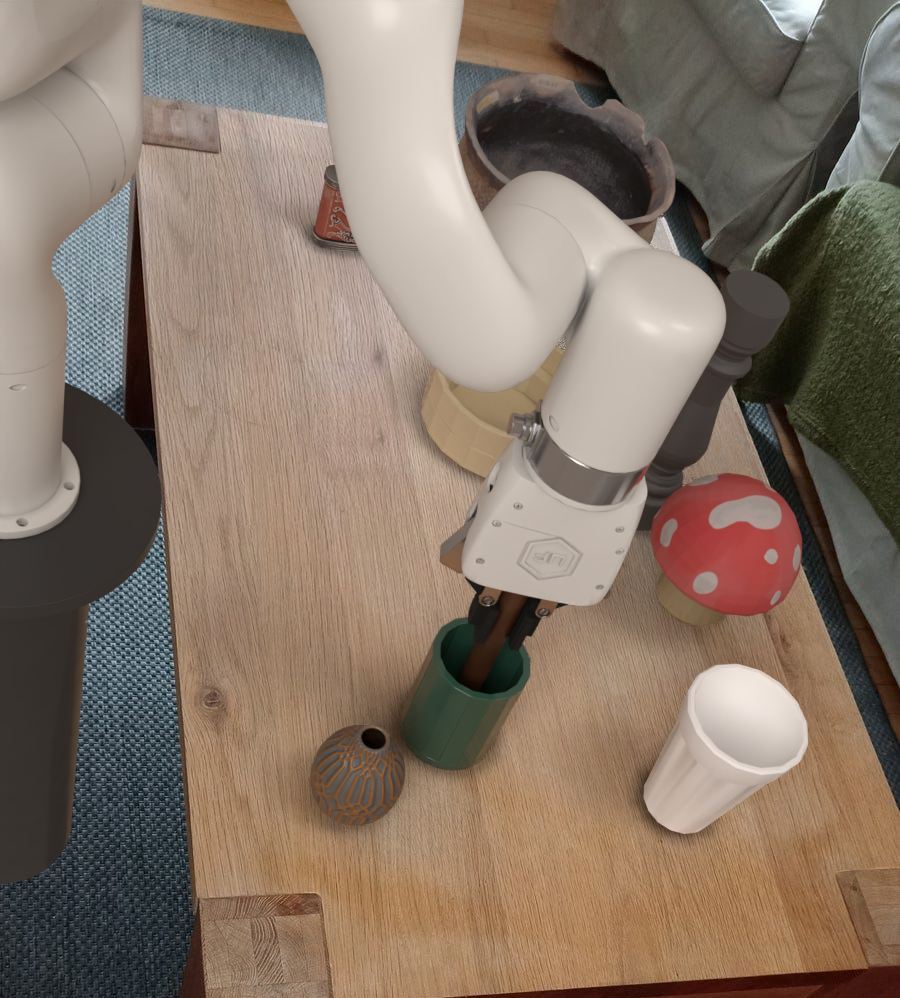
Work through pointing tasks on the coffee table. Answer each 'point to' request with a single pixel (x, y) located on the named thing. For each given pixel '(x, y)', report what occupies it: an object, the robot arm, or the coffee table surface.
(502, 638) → the stick
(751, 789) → the cup
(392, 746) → the vase
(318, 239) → the lighter
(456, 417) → the mixing bowl
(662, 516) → the decorative mushroom
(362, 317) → the coffee table surface
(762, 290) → the candle holder
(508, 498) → the robot arm
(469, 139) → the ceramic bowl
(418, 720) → the crock
